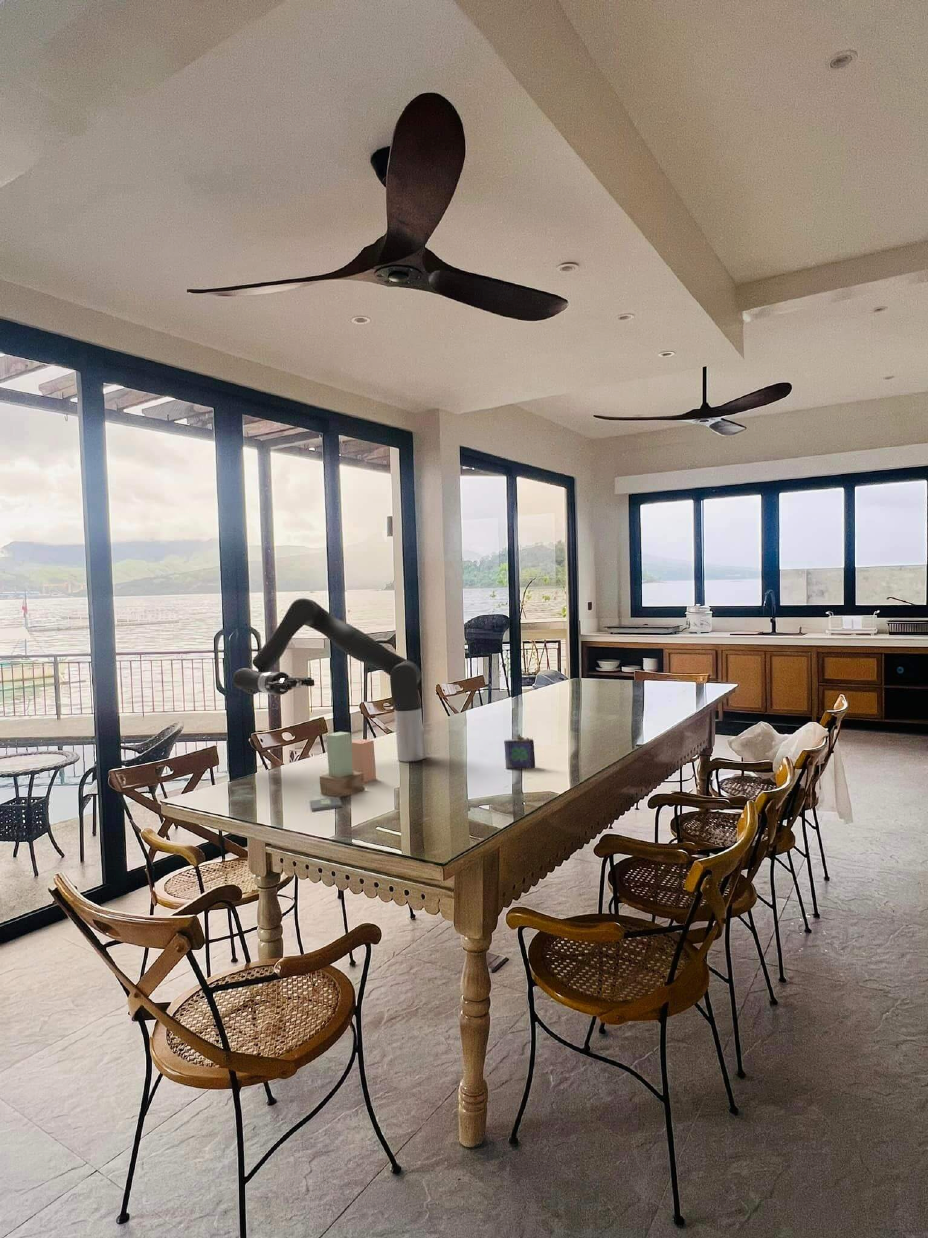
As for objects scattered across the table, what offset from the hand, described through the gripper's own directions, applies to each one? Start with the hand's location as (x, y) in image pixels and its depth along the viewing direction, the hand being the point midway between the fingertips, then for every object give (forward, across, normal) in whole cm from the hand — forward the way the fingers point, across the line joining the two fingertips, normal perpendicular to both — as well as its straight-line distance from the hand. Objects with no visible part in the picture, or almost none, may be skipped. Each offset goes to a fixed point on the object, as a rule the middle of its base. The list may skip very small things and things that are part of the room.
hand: (302, 684), depth 227 cm
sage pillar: (+23, -5, +25) cm, 34 cm away
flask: (+53, +42, +30) cm, 74 cm away
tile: (+30, -16, +30) cm, 46 cm away
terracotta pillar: (+19, +7, +30) cm, 36 cm away
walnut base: (+23, -5, +30) cm, 38 cm away
